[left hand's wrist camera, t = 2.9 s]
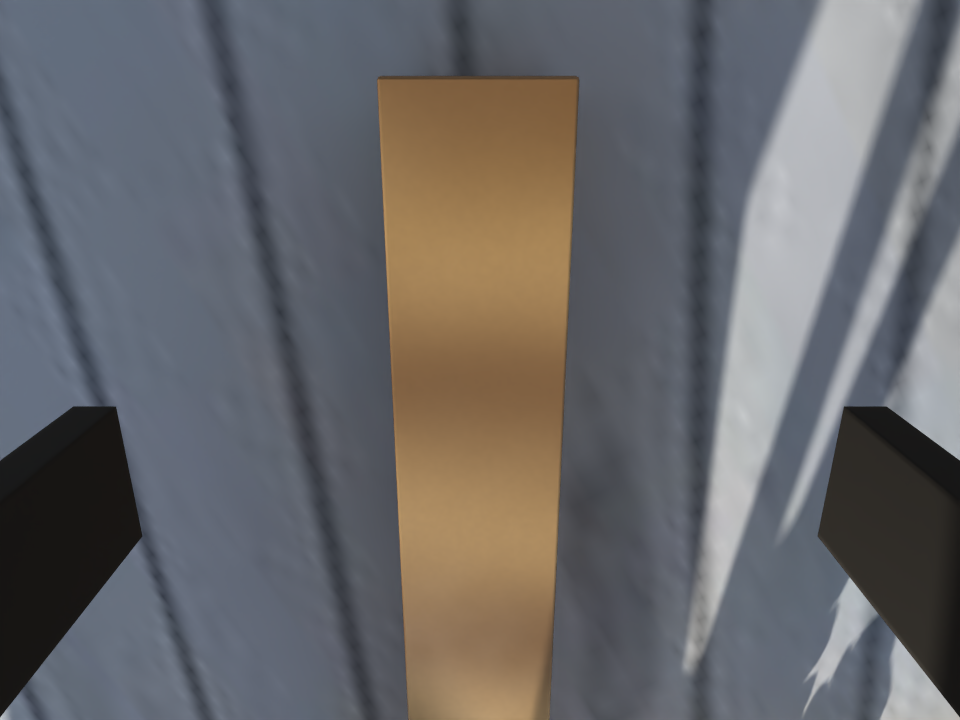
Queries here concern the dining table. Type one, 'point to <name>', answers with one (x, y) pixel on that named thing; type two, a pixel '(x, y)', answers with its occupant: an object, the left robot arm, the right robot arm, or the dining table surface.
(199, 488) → the dining table surface
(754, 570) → the dining table surface
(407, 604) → the bar
